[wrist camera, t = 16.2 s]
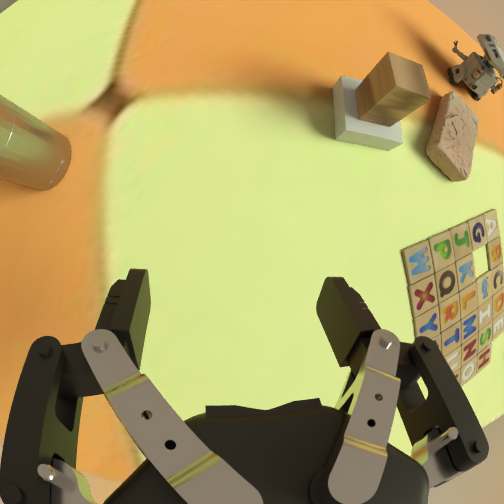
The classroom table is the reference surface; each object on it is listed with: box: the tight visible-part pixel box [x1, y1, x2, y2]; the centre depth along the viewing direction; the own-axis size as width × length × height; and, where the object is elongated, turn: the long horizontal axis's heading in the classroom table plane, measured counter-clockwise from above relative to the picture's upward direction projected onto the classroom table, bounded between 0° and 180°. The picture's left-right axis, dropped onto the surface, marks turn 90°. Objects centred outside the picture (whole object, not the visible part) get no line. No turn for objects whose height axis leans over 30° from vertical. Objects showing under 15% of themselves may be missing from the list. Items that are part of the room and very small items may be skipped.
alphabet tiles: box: [402, 209, 504, 386], centre depth 39 cm, size 33×28×1 cm
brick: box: [426, 91, 479, 182], centre depth 35 cm, size 16×8×5 cm, turn 149°
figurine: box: [448, 34, 504, 101], centre depth 30 cm, size 9×12×15 cm
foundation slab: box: [333, 75, 403, 151], centre depth 34 cm, size 9×9×4 cm
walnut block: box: [355, 52, 431, 127], centre depth 27 cm, size 5×5×10 cm
